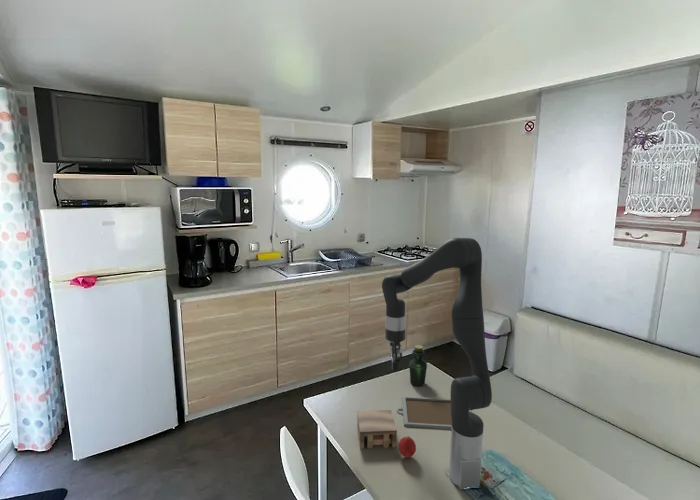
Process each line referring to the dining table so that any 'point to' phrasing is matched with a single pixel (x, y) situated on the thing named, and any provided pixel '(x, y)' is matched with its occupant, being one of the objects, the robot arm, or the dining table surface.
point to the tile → (379, 439)
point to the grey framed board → (426, 412)
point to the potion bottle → (418, 367)
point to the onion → (407, 447)
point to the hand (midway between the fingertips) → (395, 370)
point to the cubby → (376, 427)
